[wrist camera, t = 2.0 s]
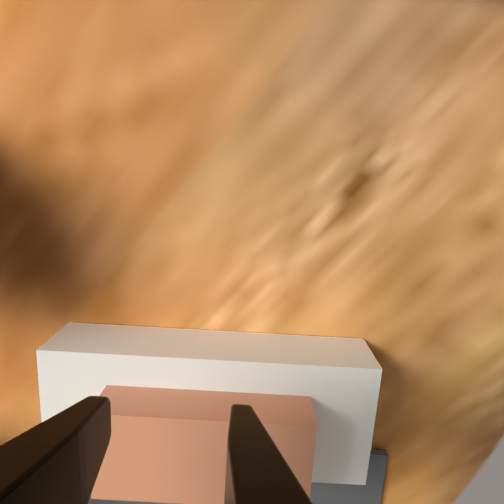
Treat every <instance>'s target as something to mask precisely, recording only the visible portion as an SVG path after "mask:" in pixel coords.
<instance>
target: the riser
mask: <svg viewBox="0 0 504 504" xmlns="http://www.w3.org/2000/svg"><path fill="white" fill-rule="evenodd" d="M36 354H37V367H38V380H39V393H40V407H41V420H42V422H44V421H45V420H47V419H49V418H51V417H53V416H54V415H56V414H58V413H60V412H61V411H63V410H65V409H67V408H69V407H70V406H72V405H74V404H76V403H77V402H79V401H81V400H83V399H85V398H86V397H88V396H100V394H101V393H102V391H103V390H104V388H105V387H106V385H116V386H134V387H152V388H170V389H188V390H206V391H224V392H242V393H260V394H278V395H296V396H310V397H311V401H312V405H313V409H314V414H315V418H316V422H317V426H318V427H317V436H316V445H315V454H314V464H313V473H312V482H316V483H335V484H353V485H366V479H367V472H368V465H369V459H370V452H371V445H372V438H373V431H374V424H375V418H376V411H377V404H378V397H379V390H380V384H381V377H382V370H383V369H382V368H381V366H380V364H379V363H378V361H377V360H376V358H375V356H374V355H373V353H372V351H371V350H370V348H369V347H368V345H367V343H366V342H365V340H364V339H362V338H344V337H326V336H308V335H290V334H272V333H255V332H237V331H219V330H201V329H183V328H165V327H148V326H130V325H112V324H94V323H76V322H69V323H67V324H66V325H65V326H64V327H63V328H62V329H60V330H59V331H58V332H57V333H56V334H54V335H53V336H52V337H51V338H50V339H49V340H47V341H46V342H45V343H44V344H43V345H42V346H40V347H39V348H38V349H37V350H36Z"/></svg>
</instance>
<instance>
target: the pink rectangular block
mask: <svg viewBox="0 0 504 504" xmlns="http://www.w3.org/2000/svg"><path fill="white" fill-rule="evenodd" d="M100 396H104V397H108V398H109V399H110V403H111V438H110V442H109V445H108V448H107V451H106V454H105V457H104V459H103V462H102V465H101V468H100V471H99V473H98V476H97V479H96V482H95V485H94V487H93V490H92V493H91V499H104V500H122V501H141V502H159V503H178V504H224V498H225V478H226V458H227V438H228V429H229V420H230V412H231V406H232V405H233V404H246V405H250V406H252V408H253V409H254V411H255V413H256V414H257V416H258V417H259V419H260V421H261V422H262V424H263V425H264V427H265V428H266V430H267V432H268V433H269V435H270V436H271V438H272V440H273V441H274V443H275V444H276V446H277V448H278V449H279V451H280V452H281V454H282V455H283V457H284V459H285V460H286V462H287V463H288V465H289V467H290V468H291V470H292V471H293V473H294V474H295V476H296V478H297V479H298V481H299V482H300V484H301V486H302V487H303V489H304V490H305V492H306V494H307V495H308V497H309V498H310V491H311V482H312V473H313V464H314V454H315V445H316V436H317V427H318V426H317V422H316V418H315V414H314V409H313V405H312V401H311V397H310V396H296V395H278V394H260V393H242V392H224V391H206V390H188V389H170V388H152V387H134V386H116V385H106V387H105V388H104V390H103V391H102V393H101V394H100Z"/></svg>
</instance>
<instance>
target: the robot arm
mask: <svg viewBox="0 0 504 504" xmlns="http://www.w3.org/2000/svg"><path fill="white" fill-rule="evenodd" d="M110 438H111V403H110V399H109V398H108V397H104V396H88V397H86V398H85V399H83V400H81V401H79V402H77V403H76V404H74V405H72V406H70V407H69V408H67V409H65V410H63V411H61V412H60V413H58V414H56V415H54V416H53V417H51V418H49V419H47V420H45V421H44V422H42V423H40V424H38V425H37V426H35V427H33V428H31V429H29V430H28V431H26V432H24V433H22V434H21V435H19V436H17V437H15V438H13V439H12V440H10V441H8V442H6V443H5V444H3V445H1V446H0V504H88V501H89V499H90V496H91V493H92V490H93V487H94V485H95V482H96V479H97V476H98V473H99V471H100V468H101V465H102V462H103V459H104V457H105V454H106V451H107V448H108V445H109V442H110ZM224 504H313V503H312V501H311V500H310V498H309V497H308V495H307V494H306V492H305V490H304V489H303V487H302V486H301V484H300V482H299V481H298V479H297V478H296V476H295V474H294V473H293V471H292V470H291V468H290V467H289V465H288V463H287V462H286V460H285V459H284V457H283V455H282V454H281V452H280V451H279V449H278V448H277V446H276V444H275V443H274V441H273V440H272V438H271V436H270V435H269V433H268V432H267V430H266V428H265V427H264V425H263V424H262V422H261V421H260V419H259V417H258V416H257V414H256V413H255V411H254V409H253V408H252V406H250V405H246V404H233V405H232V406H231V412H230V420H229V429H228V438H227V458H226V478H225V498H224Z"/></svg>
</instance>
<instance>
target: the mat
mask: <svg viewBox="0 0 504 504" xmlns="http://www.w3.org/2000/svg"><path fill="white" fill-rule="evenodd" d="M387 459H388V454H387V452H386V450H375V449H371V452H370V459H369V465H368V472H367V479H366V485H353V484H335V483H316V482H311V491H310V500H311V501H312V503H313V504H380V503H381V496H382V490H383V484H384V477H385V471H386V465H387ZM88 504H178V503H159V502H141V501H122V500H104V499H91V496H90V499H89V501H88Z"/></svg>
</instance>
